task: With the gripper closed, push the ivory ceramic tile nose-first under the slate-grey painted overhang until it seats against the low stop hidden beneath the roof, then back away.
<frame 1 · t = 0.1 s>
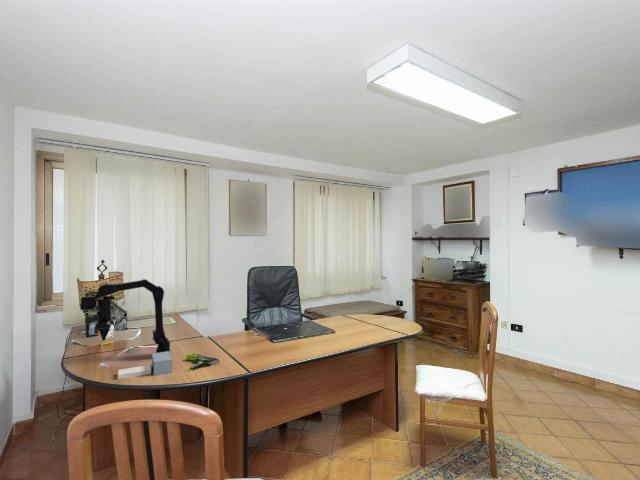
hand: (104, 338, 173), 14 cm above the table, fingers open, 9 cm apart
overhang: (161, 369, 169), on the table
toy gun: (196, 366, 175), on the table
tile: (134, 374, 163), on the table
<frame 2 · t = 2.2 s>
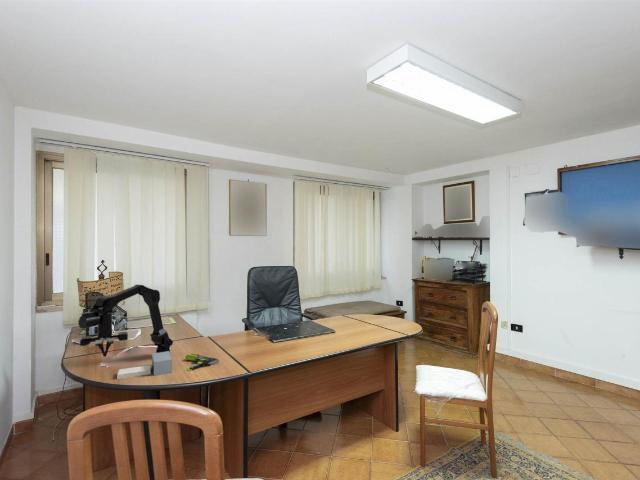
hand: (104, 356, 157), 11 cm above the table, fingers closed
nothing on the table moved.
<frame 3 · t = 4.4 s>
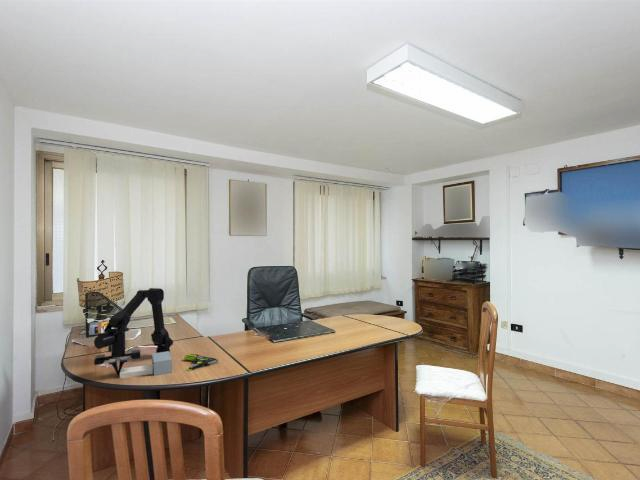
hand: (118, 374, 159), 1 cm above the table, fingers closed
tile: (137, 373, 164), on the table
everything else where it was.
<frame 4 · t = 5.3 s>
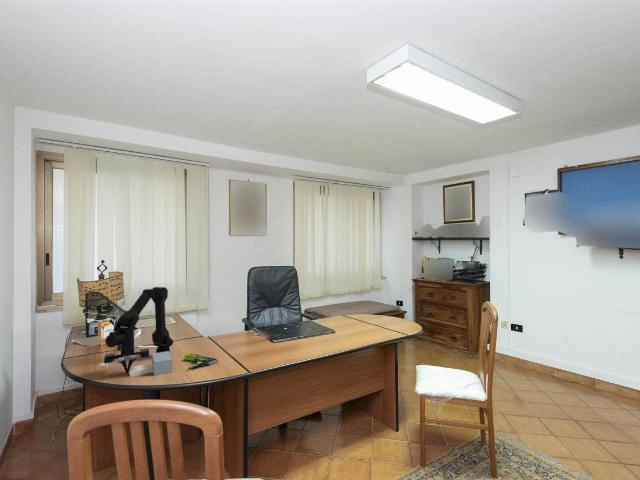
hand: (127, 373, 161), 1 cm above the table, fingers closed
tile: (145, 372, 166), on the table
everything else where it was.
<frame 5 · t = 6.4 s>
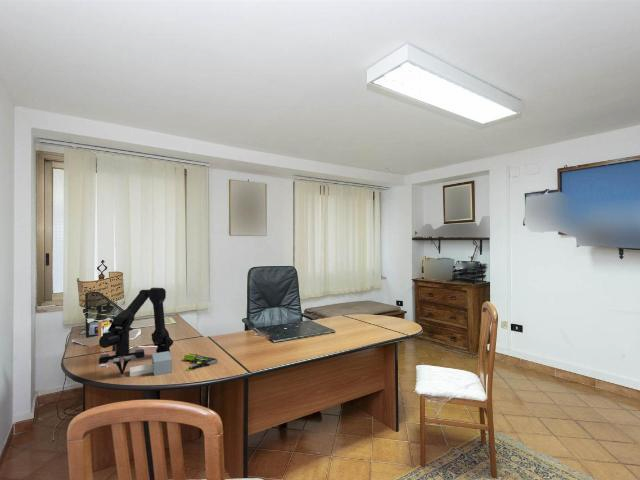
hand: (122, 373, 160), 1 cm above the table, fingers closed
nothing on the table moved.
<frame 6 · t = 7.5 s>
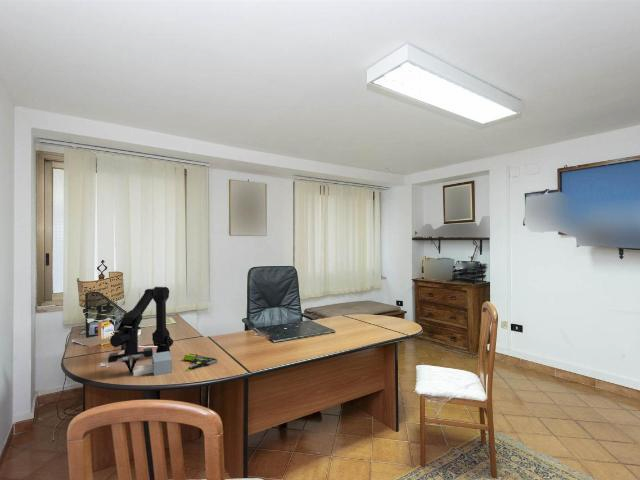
hand: (130, 372, 162), 1 cm above the table, fingers closed
tile: (148, 371, 167), on the table, touching gripper
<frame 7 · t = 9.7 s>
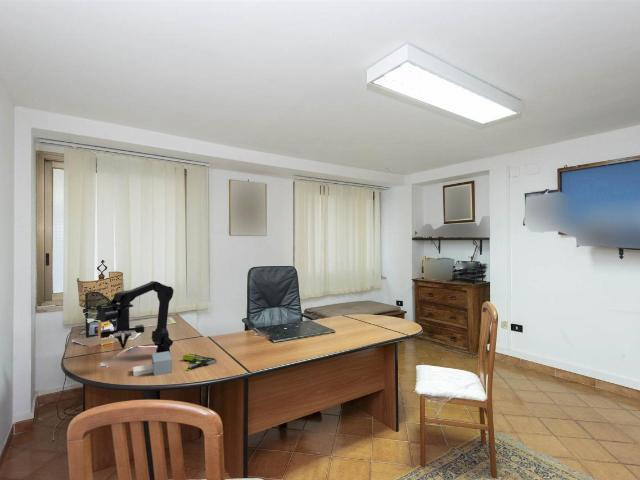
hand: (123, 348, 166), 12 cm above the table, fingers closed
tile: (149, 371, 167), on the table
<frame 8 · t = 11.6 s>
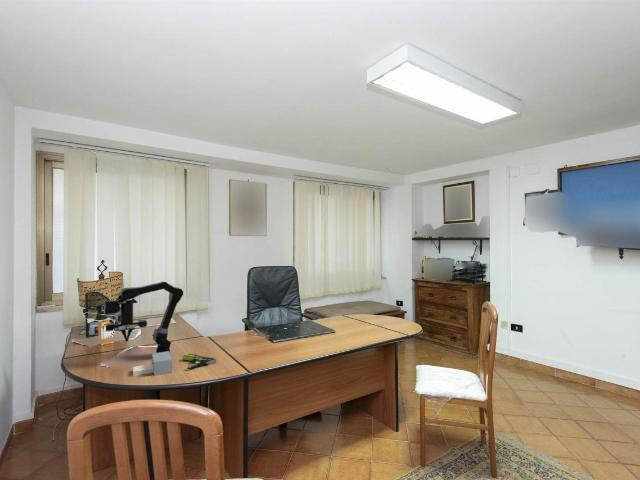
hand: (126, 341, 176), 12 cm above the table, fingers closed
at the end: tile 1.1 cm from the target spot on the table beside the overhang, on the table; tile tilted 0° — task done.
